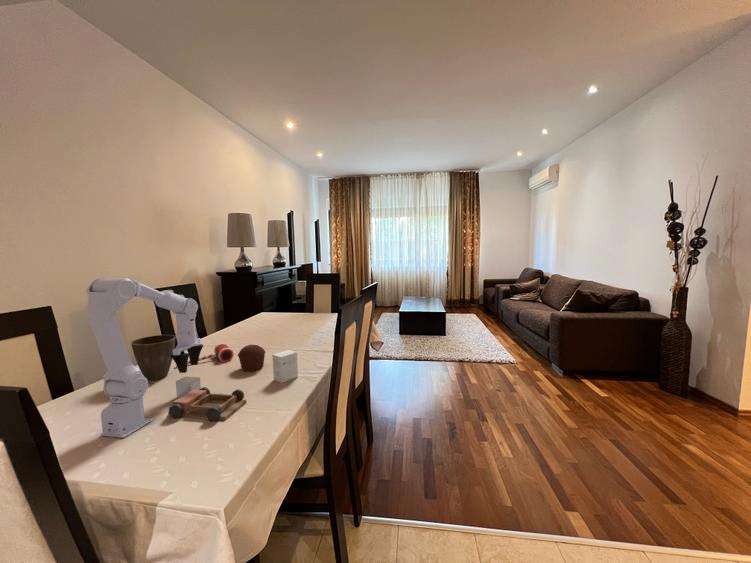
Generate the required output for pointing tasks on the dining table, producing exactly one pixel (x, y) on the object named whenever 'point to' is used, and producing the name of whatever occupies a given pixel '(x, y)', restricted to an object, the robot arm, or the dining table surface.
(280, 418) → the dining table surface
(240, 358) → the muffin
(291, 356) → the small box
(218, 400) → the chassis
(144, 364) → the plant pot
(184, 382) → the grey block
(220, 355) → the toy hammer
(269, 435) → the dining table surface
